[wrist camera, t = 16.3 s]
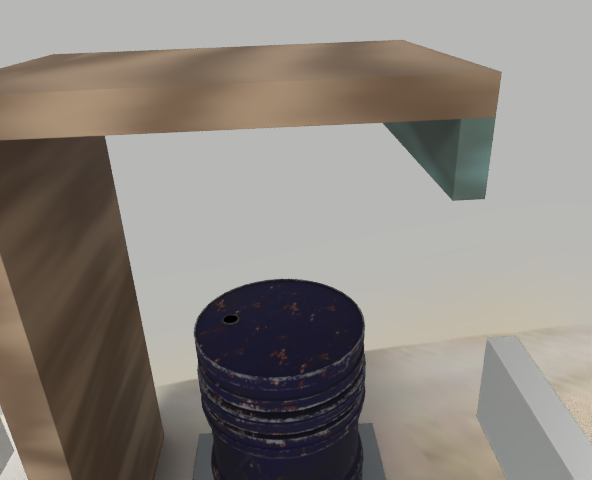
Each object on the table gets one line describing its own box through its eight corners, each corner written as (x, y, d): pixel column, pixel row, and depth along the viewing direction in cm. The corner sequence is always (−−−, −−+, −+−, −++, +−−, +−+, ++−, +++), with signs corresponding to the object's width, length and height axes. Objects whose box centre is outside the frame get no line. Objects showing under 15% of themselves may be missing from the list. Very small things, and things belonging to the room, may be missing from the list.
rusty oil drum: (363, 449, 39) (368, 281, 33) (360, 581, 30) (366, 386, 24) (236, 439, 41) (217, 275, 34) (199, 562, 32) (164, 373, 25)
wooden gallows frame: (383, 421, 42) (402, 39, 30) (431, 602, 30) (501, 71, 17) (139, 436, 42) (52, 54, 29) (83, 627, 29) (-114, 98, 16)
